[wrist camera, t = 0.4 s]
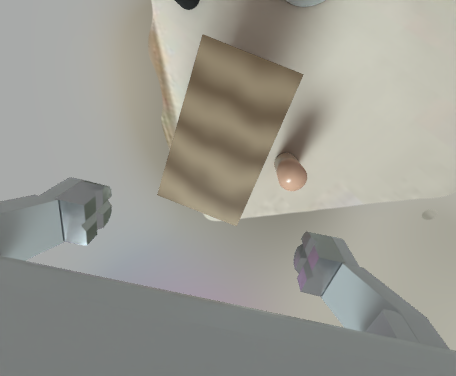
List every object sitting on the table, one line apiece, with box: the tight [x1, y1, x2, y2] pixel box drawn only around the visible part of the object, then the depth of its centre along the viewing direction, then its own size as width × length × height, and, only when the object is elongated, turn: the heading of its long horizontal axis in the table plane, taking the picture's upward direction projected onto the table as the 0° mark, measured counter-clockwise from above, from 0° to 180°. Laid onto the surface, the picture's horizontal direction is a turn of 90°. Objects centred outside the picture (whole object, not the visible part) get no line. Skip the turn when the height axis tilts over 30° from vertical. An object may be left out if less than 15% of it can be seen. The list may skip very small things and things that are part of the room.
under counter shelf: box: [157, 35, 303, 226], centre depth 44 cm, size 24×14×21 cm, turn 159°
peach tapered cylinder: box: [274, 153, 307, 191], centre depth 49 cm, size 5×5×12 cm
